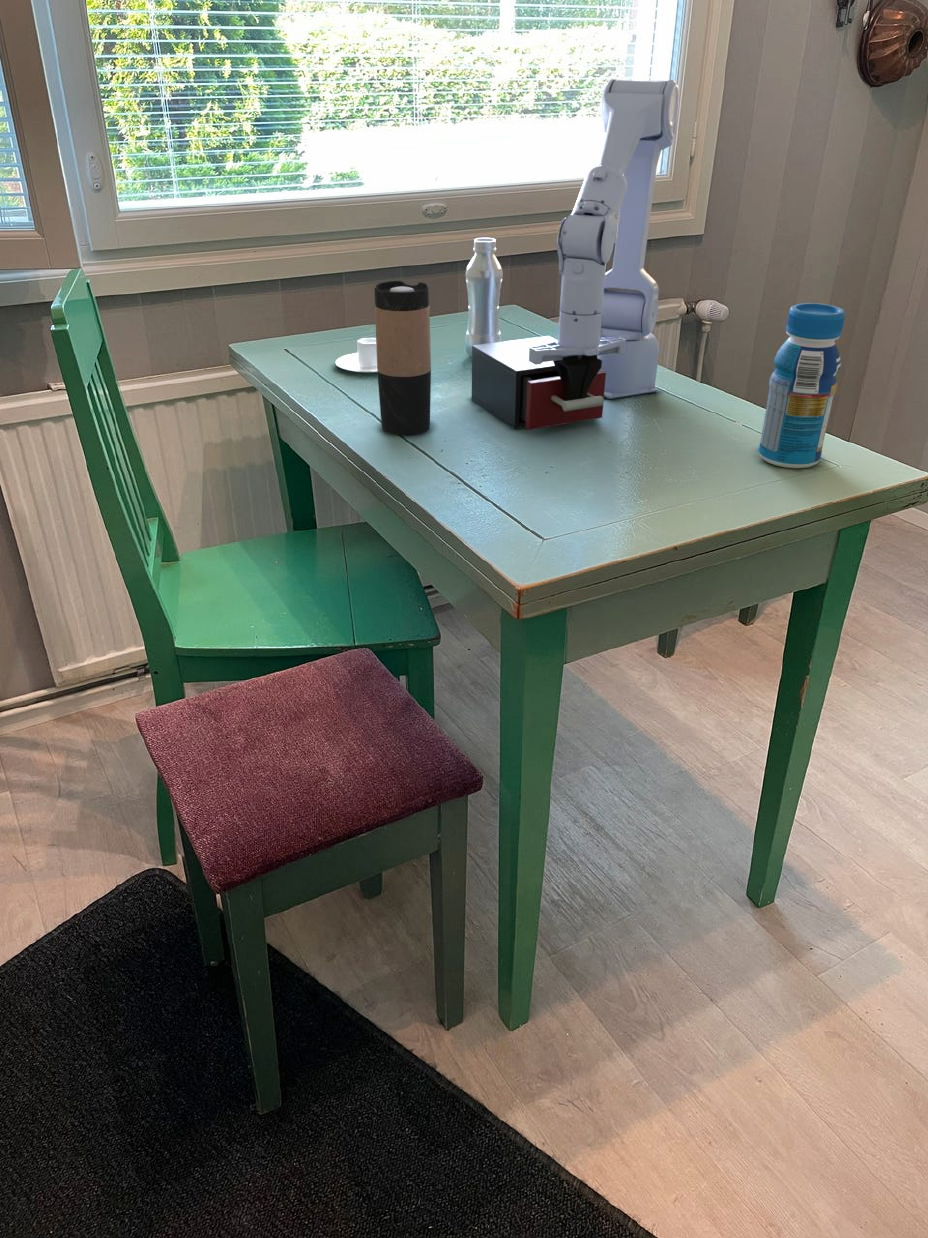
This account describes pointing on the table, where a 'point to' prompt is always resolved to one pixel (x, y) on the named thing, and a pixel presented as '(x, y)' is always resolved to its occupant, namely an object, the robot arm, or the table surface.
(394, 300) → the travel mug
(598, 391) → the drawer
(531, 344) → the charcoal grey case
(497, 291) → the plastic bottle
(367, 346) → the candle holder
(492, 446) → the table surface
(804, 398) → the beverage bottle
